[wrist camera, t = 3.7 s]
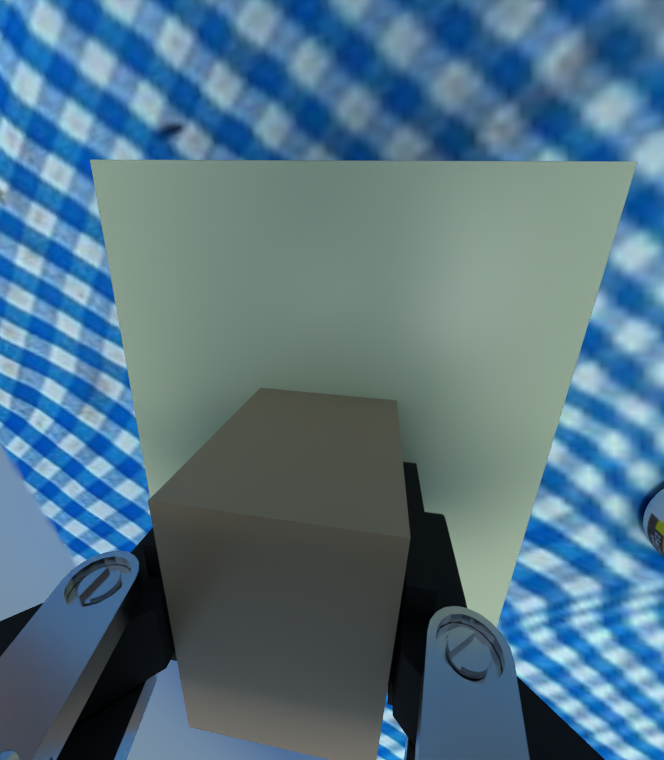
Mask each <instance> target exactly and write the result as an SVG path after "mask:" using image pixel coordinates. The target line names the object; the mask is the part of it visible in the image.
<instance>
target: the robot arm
mask: <svg viewBox="0 0 664 760" xmlns="http://www.w3.org/2000/svg"><path fill="white" fill-rule="evenodd" d="M403 468H404V478H405V488H406V498H407V508H408V518H409V528H410V544H409V551H408V557H407V564H406V570H405V577H404V583H403V590H402V596H401V603H400V609H399V616H398V622H397V629H396V635H395V642H394V648H393V655H392V661H391V668H390V674H389V681H388V704H390V705H393V716H394V718H395V719H396V721H397V722H398V724H399V725H400V726H401V728H402V729H403V731H404V732H405V734H406V735H407V737H406V747H405V757H404V760H605V759H603V758H602V757H601V756H600V755H599V754H598V753H597V752H596V751H595V750H594V749H593V748H592V747H591V746H590V745H589V744H588V743H587V742H586V741H585V740H583V739H582V738H581V737H580V736H579V735H578V734H577V733H576V732H575V731H574V730H573V729H572V728H571V727H570V726H569V725H568V724H567V723H566V722H565V721H563V720H562V719H561V718H560V717H559V716H558V715H557V714H556V713H555V712H554V711H553V710H552V709H551V708H550V707H549V706H548V705H547V704H546V703H545V702H543V701H542V700H541V699H540V698H539V697H538V696H537V695H536V694H535V693H534V692H533V691H532V690H531V689H530V688H529V687H528V686H527V685H526V684H525V683H523V682H522V681H521V680H520V679H519V678H518V677H517V675H516V669H515V663H514V659H513V656H512V652H511V649H510V647H509V645H508V643H507V642H506V640H505V638H504V637H503V635H502V634H501V632H500V631H499V630H498V629H497V628H496V627H495V626H494V625H493V624H492V623H491V622H490V621H489V620H487V619H486V618H485V617H483V616H482V615H481V614H479V613H477V612H475V611H473V610H470V609H468V608H467V604H466V600H465V596H464V592H463V588H462V584H461V580H460V576H459V572H458V567H457V563H456V559H455V555H454V551H453V547H452V543H451V539H450V535H449V531H448V527H447V523H446V519H445V516H444V515H443V514H438V513H431V512H425V511H424V505H423V499H422V493H421V487H420V481H419V476H418V470H417V464H416V463H411V462H403ZM170 660H175V661H177V657H176V652H175V646H174V641H173V635H172V630H171V624H170V619H169V613H168V608H167V602H166V597H165V591H164V585H163V580H162V574H161V569H160V563H159V558H158V552H157V547H156V541H155V536H154V530H153V528H152V529H151V530H150V531H149V533H148V534H147V535H146V536H145V537H144V538H143V539H142V541H141V542H140V543H139V544H138V545H137V546H136V547H135V549H134V550H133V551H132V552H131V553H129V552H125V551H112V552H106V553H103V554H100V555H97V556H94V557H92V558H90V559H88V560H86V561H84V562H83V563H81V564H80V565H78V566H77V567H76V568H74V569H73V570H71V571H70V573H69V574H67V576H66V577H65V578H64V579H63V580H62V581H61V582H60V583H59V584H58V586H57V587H56V588H55V589H54V591H53V592H52V593H51V594H50V596H49V597H48V598H47V599H46V601H45V602H44V603H42V604H39V605H37V606H35V607H32V608H30V609H28V610H26V611H23V612H21V613H19V614H16V615H14V616H12V617H9V618H7V619H5V620H2V621H0V760H126V759H127V757H128V754H129V751H130V748H131V746H132V744H133V741H134V738H135V736H136V733H137V730H138V728H139V725H140V723H141V720H142V717H143V715H144V712H145V710H146V707H147V704H148V702H149V699H150V696H151V694H152V691H153V689H154V686H155V683H156V681H157V677H158V673H159V672H160V671H162V670H164V669H165V668H166V667H167V665H168V663H169V662H170Z"/></svg>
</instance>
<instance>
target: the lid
mask: <svg viewBox="0 0 664 760" xmlns="http://www.w3.org/2000/svg"><path fill="white" fill-rule="evenodd" d="M90 162H91V168H92V174H93V179H94V185H95V190H96V196H97V202H98V207H99V213H100V219H101V224H102V230H103V235H104V241H105V247H106V252H107V258H108V263H109V269H110V275H111V280H112V286H113V291H114V297H115V303H116V308H117V314H118V320H119V325H120V331H121V336H122V342H123V348H124V353H125V359H126V364H127V370H128V376H129V381H130V387H131V392H132V398H133V404H134V409H135V415H136V420H137V426H138V432H139V437H140V443H141V449H142V454H143V460H144V465H145V471H146V477H147V482H148V488H149V493H150V499H149V500H148V503H149V508H150V514H151V519H152V525H153V530H154V536H155V541H156V547H157V552H158V558H159V563H160V569H161V574H162V580H163V585H164V591H165V597H166V602H167V608H168V613H169V619H170V624H171V630H172V635H173V641H174V646H175V652H176V657H177V662H178V667H179V674H180V679H181V684H182V690H183V695H184V701H185V706H186V712H187V717H188V722H189V727H192V728H196V729H200V730H205V731H209V732H213V733H218V734H222V735H226V736H230V737H235V738H239V739H243V740H248V741H252V742H256V743H261V744H265V745H269V746H274V747H278V748H282V749H286V750H291V751H295V752H299V753H304V754H308V755H312V756H317V757H321V758H325V759H330V760H376V758H377V752H378V746H379V739H380V733H381V726H382V720H383V713H384V707H385V700H386V694H387V687H388V681H389V674H390V668H391V661H392V655H393V648H394V642H395V635H396V629H397V622H398V616H399V609H400V603H401V596H402V590H403V583H404V577H405V570H406V564H407V557H408V551H409V544H410V528H409V518H408V508H407V498H406V488H405V478H404V468H403V462H411V463H416V464H417V470H418V476H419V481H420V487H421V493H422V499H423V505H424V511H425V512H431V513H438V514H443V515H444V516H445V519H446V523H447V527H448V531H449V535H450V539H451V543H452V547H453V551H454V555H455V559H456V563H457V567H458V572H459V576H460V580H461V584H462V588H463V592H464V596H465V600H466V604H467V608H468V609H470V610H473V611H475V612H477V613H479V614H481V615H482V616H483V617H485V618H486V619H487V620H489V621H490V622H491V623H492V624H493V625H494V626H495V627H497V624H498V620H499V617H500V614H501V611H502V607H503V604H504V601H505V597H506V594H507V591H508V587H509V584H510V581H511V578H512V574H513V571H514V568H515V564H516V561H517V558H518V554H519V551H520V548H521V544H522V541H523V538H524V535H525V531H526V528H527V525H528V521H529V518H530V515H531V511H532V508H533V505H534V501H535V498H536V495H537V492H538V488H539V485H540V482H541V478H542V475H543V472H544V468H545V465H546V462H547V459H548V455H549V452H550V449H551V445H552V442H553V439H554V435H555V432H556V429H557V425H558V422H559V419H560V416H561V412H562V409H563V406H564V402H565V399H566V396H567V392H568V389H569V386H570V383H571V379H572V376H573V373H574V369H575V366H576V363H577V359H578V356H579V353H580V349H581V346H582V343H583V340H584V336H585V333H586V330H587V326H588V323H589V320H590V316H591V313H592V310H593V307H594V303H595V300H596V297H597V293H598V290H599V287H600V283H601V280H602V277H603V273H604V270H605V267H606V264H607V260H608V257H609V254H610V250H611V247H612V244H613V240H614V237H615V234H616V231H617V227H618V224H619V221H620V217H621V214H622V211H623V207H624V204H625V201H626V197H627V194H628V191H629V188H630V184H631V181H632V178H633V174H634V171H635V168H636V164H637V162H589V161H300V160H90Z"/></svg>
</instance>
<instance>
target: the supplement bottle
mask: <svg viewBox="0 0 664 760" xmlns="http://www.w3.org/2000/svg"><path fill="white" fill-rule="evenodd" d="M643 527H644V531H645V534H646V536H647V538H648V540H649V541H650V543H651V544H652V545H653V546H654V548H655V549H656V550H657V551H658V552H659V553H660V554H661V555H662V556H663V557H664V489H662V490H661V491H660V492H658V493H657V494H656V495H655V496H654V498H653V499H652V500H651V501H650V502H649V504H648V506H647V508H646V510H645V512H644V518H643Z"/></svg>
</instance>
